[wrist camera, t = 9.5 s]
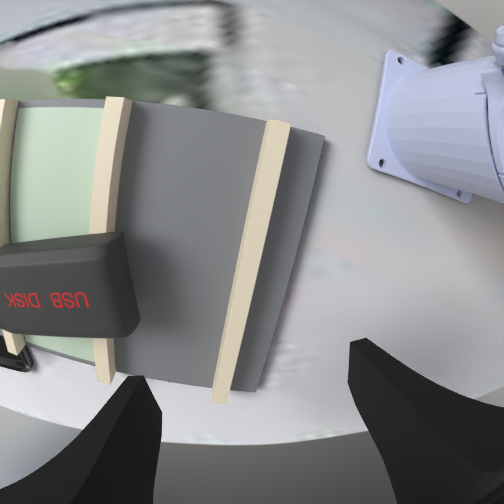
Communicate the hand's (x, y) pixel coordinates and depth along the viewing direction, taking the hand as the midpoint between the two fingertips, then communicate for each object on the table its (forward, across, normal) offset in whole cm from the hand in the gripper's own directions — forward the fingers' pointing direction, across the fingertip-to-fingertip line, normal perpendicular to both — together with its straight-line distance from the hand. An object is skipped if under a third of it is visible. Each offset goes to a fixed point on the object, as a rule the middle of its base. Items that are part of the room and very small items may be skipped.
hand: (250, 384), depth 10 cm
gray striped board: (+9, +8, -3) cm, 12 cm away
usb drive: (+7, +12, -2) cm, 14 cm away
